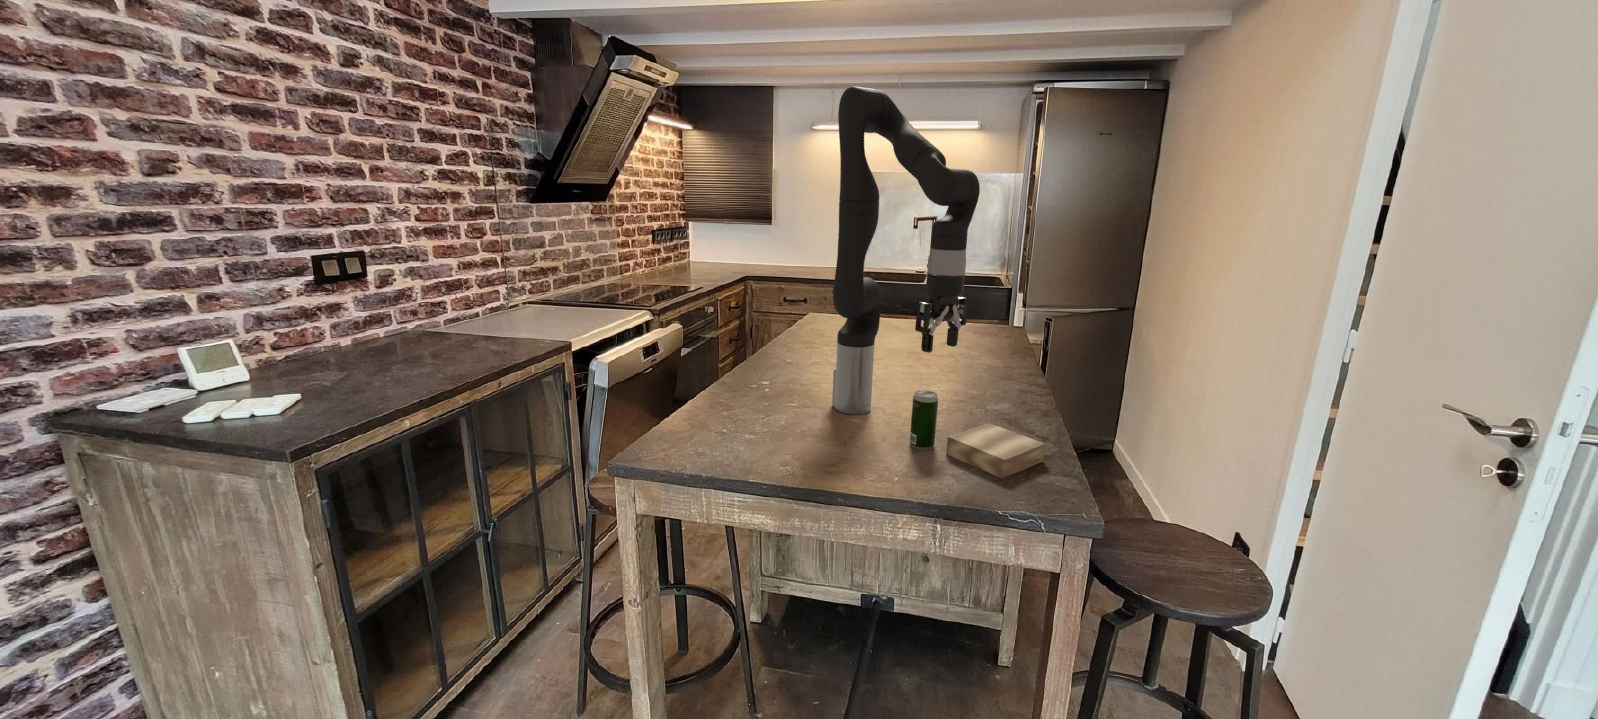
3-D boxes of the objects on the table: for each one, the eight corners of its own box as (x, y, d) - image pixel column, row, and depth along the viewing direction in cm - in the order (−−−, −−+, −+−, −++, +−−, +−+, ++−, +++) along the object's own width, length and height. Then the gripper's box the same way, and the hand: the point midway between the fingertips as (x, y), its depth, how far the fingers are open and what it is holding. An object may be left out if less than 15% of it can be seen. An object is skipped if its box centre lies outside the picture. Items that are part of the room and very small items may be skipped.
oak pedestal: (946, 453, 131) (947, 436, 129) (986, 439, 139) (988, 422, 138) (1002, 478, 120) (1004, 459, 119) (1042, 461, 128) (1045, 443, 127)
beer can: (921, 452, 131) (925, 399, 128) (904, 443, 135) (907, 392, 132) (939, 447, 134) (944, 395, 131) (921, 438, 138) (926, 388, 135)
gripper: (951, 267, 132) (945, 340, 136) (909, 271, 123) (903, 350, 127) (982, 271, 127) (974, 347, 131) (939, 276, 117) (932, 357, 122)
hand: (939, 348), depth 129 cm, fingers open, 8 cm apart
